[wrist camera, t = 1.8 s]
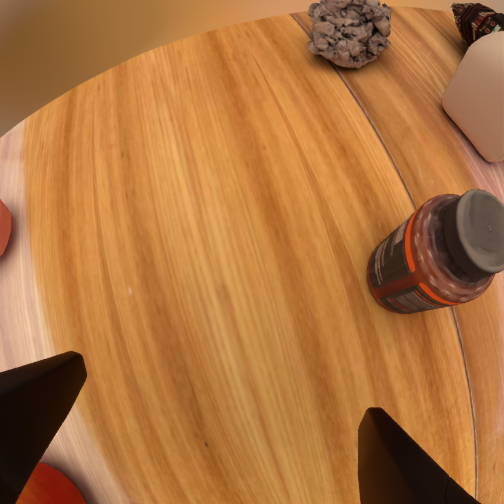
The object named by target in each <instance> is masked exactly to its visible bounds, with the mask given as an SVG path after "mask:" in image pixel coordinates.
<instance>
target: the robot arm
mask: <svg viewBox="0 0 504 504" xmlns="http://www.w3.org/2000/svg"><path fill="white" fill-rule="evenodd" d="M86 378H87V371H86V367H85V363H84V359H83V356H82V355H81V354H80V353H77V352H74V351H69V352H65V353H62V354H59V355H56V356H53V357H50V358H47V359H43V360H40V361H37V362H34V363H30V364H27V365H24V366H21V367H17V368H14V369H11V370H7V371H4V372H0V504H16V502H17V500H18V498H19V495H20V494H21V493H22V491H23V489H24V487H25V485H26V484H27V482H28V480H29V478H30V476H31V475H32V473H33V471H34V470H35V468H36V466H37V464H38V463H39V461H40V459H41V458H42V456H43V454H44V453H45V451H46V449H47V448H48V446H49V444H50V443H51V441H52V439H53V438H54V436H55V435H56V433H57V431H58V430H59V428H60V427H61V425H62V423H63V422H64V420H65V419H66V417H67V415H68V414H69V412H70V410H71V408H72V406H73V404H74V402H75V400H76V398H77V396H78V394H79V392H80V390H81V388H82V387H83V385H84V383H85V381H86ZM358 481H359V491H360V502H361V504H481V503H479V502H478V501H477V500H476V499H474V498H473V497H472V496H471V495H469V494H468V493H467V492H466V491H465V490H464V489H463V488H462V487H461V486H459V485H458V484H457V483H456V482H455V481H454V480H453V479H452V478H451V477H449V475H448V474H447V473H446V472H445V471H444V470H443V469H442V468H441V467H440V466H439V465H438V464H437V463H436V462H435V461H434V460H433V459H432V458H431V457H430V456H429V455H428V454H427V453H426V452H425V451H424V450H423V449H422V448H421V447H420V446H419V445H418V444H417V443H416V442H415V441H414V440H413V439H412V438H411V437H410V436H409V435H408V434H407V433H406V432H405V431H404V430H403V429H402V428H401V427H400V426H399V425H398V424H397V423H396V422H395V421H394V420H393V419H392V418H391V417H390V416H389V415H388V414H387V413H386V412H385V411H384V410H383V409H382V408H380V407H370V408H368V409H367V410H366V412H365V415H364V417H363V419H362V421H361V423H360V425H359V429H358Z"/></svg>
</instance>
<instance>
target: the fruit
mask: <svg viewBox="0 0 504 504" xmlns="http://www.w3.org/2000/svg"><path fill="white" fill-rule="evenodd" d="M16 504H86V503H85V501H84V499H83V497H82V495H81V493H80V492H79V490H78V489H77V488H76V486H75V485H74V484H73V483H72V482H71V481H70V480H69V479H68V478H67V477H66V476H65V475H64V474H62V473H61V472H60V471H58V470H56V469H54V468H52V467H50V466H48V465H46V464H44V463H41V462H39V463H38V464H37V466H36V468H35V470H34V471H33V473H32V475H31V476H30V478H29V480H28V482H27V484H26V485H25V487H24V489H23V491H22V493H21V494H20V495H19V498H18V500H17V502H16Z"/></svg>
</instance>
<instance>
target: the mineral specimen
mask: <svg viewBox="0 0 504 504" xmlns="http://www.w3.org/2000/svg"><path fill="white" fill-rule="evenodd" d="M380 5H381V4H380V2H379V0H321V1H320V3H313V4H311V5H310V7H309V13H308V15H309V16H310V19H311V21H312V25H311V27H312V32H311V33H310V38H313V41H310V42H308V48H307V49H308V50H309V51H310V52H311V53H312V54H314V55H317V54H321V55H322V56H324V57H325V58H326V59H329V60H330V61H332V62H333V63H335V64H337V65H339V66H342V67H349V68H353V67H356V68H357V69H358V68H361V66H365V65H366V64H367V63H368V62H371V61H374V60H376V58H377V57H378V55H379V54H380V52H381V51H384V49H388V47H389V46H390V42H389V41H388V40H387V39H386V38H387V37H388V36H389V35H390V32H391V30H390V27H391V25H390V20H391V9H392V8H389V7H388V6H387V5H386V4H385V3H384V4H382V6H383V7H381V6H380Z"/></svg>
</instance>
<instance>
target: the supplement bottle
mask: <svg viewBox="0 0 504 504" xmlns="http://www.w3.org/2000/svg"><path fill="white" fill-rule="evenodd" d="M502 270H504V206H503V204H502V203H501V202H500V201H499V200H498V199H497V198H496V197H495V196H494V195H493V194H491V193H489V192H487V191H485V190H480V189H472V190H469V191H467V192H466V193H464V194H463V195H461V196H459V195H455V194H441V195H438V196H435V197H433V198H431V199H429V200H428V201H427V202H425V203H424V204H423V205H422V206H421V207H420V208H419V209H418V210H416V211H415V212H414V213H413V214H412V215H411V216H410V217H409V218H408V219H407V220H405V221H404V222H403V223H402V224H401V225H400V226H399V227H398V228H397V229H396V230H395V231H393V232H392V233H391V234H390V235H389V236H388V237H387V238H386V239H384V240H383V241H382V242H381V243H380V244H379V245H378V246H377V247H376V248H375V250H374V251H373V253H372V255H371V257H370V260H369V263H368V268H367V279H368V284H369V287H370V290H371V292H372V294H373V296H374V298H375V299H376V300H377V302H378V303H379V304H380V305H381V306H383V307H384V308H386V309H387V310H389V311H391V312H394V313H398V314H411V313H416V312H422V311H427V310H433V309H438V308H443V307H448V306H453V305H457V304H462V303H466V302H469V301H471V300H474V299H476V298H477V297H479V296H480V295H481V294H482V293H484V291H486V290H487V288H488V287H489V286H490V284H491V282H492V280H493V278H494V276H495V273H499V272H501V271H502Z"/></svg>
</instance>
